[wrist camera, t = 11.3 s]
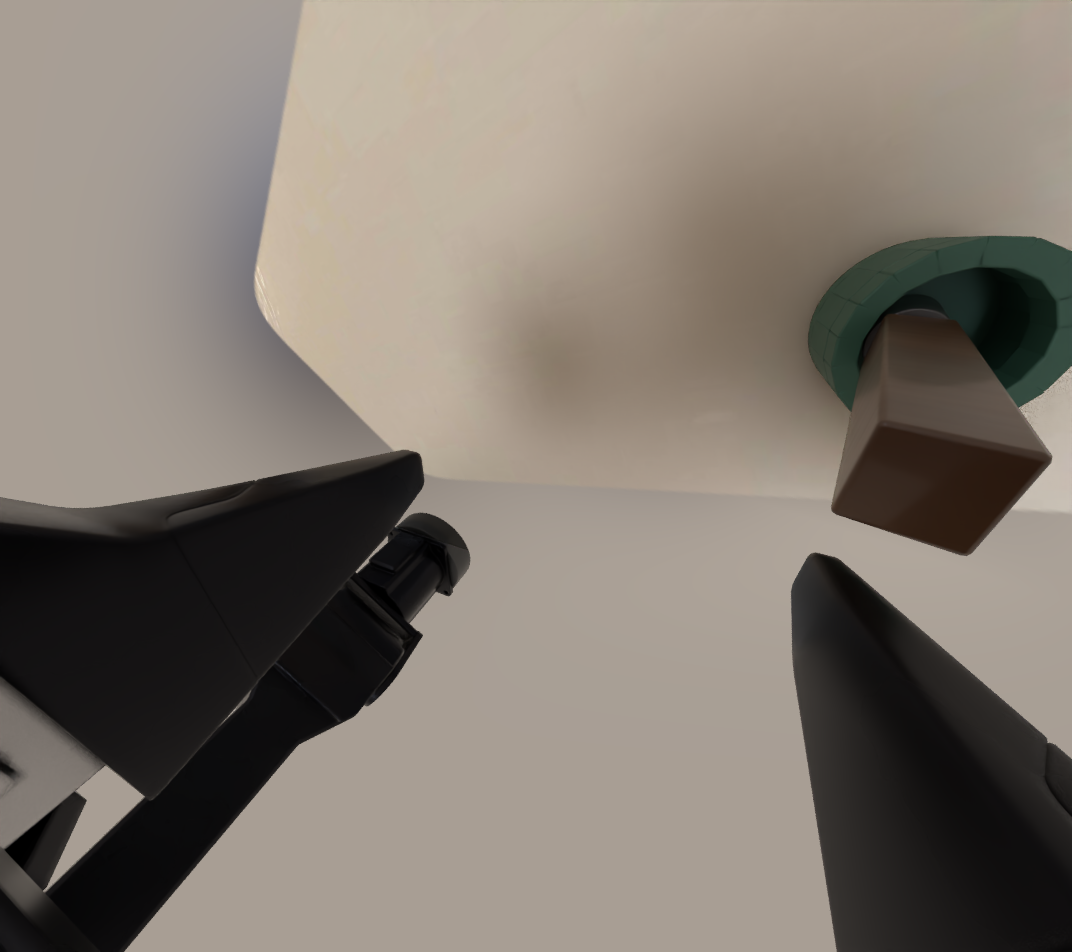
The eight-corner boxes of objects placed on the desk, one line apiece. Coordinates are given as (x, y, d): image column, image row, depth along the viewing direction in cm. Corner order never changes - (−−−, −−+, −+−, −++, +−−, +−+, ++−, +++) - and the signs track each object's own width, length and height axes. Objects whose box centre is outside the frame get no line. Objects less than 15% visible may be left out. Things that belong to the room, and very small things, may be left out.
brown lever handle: (924, 357, 14) (980, 578, 5) (856, 348, 15) (808, 519, 6) (958, 296, 13) (1105, 447, 4) (882, 291, 14) (868, 402, 5)
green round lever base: (942, 401, 15) (1010, 449, 11) (786, 381, 17) (803, 417, 13) (1042, 241, 12) (1173, 239, 9) (841, 236, 14) (881, 233, 10)
